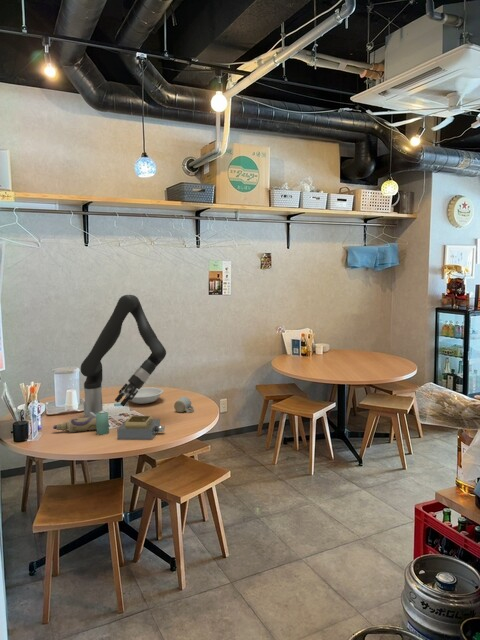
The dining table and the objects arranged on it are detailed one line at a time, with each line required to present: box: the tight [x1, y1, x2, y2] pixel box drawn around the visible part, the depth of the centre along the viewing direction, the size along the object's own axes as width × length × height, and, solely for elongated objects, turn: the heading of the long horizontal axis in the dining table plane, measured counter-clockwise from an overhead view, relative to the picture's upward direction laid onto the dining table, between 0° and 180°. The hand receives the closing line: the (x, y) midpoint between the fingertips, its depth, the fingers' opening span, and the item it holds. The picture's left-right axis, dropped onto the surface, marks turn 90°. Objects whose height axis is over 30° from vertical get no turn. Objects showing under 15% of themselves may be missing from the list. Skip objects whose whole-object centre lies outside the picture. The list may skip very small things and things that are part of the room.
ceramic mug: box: [173, 395, 195, 413], centre depth 268 cm, size 11×8×8 cm
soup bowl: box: [124, 386, 164, 405], centre depth 288 cm, size 24×24×7 cm
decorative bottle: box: [52, 417, 97, 433], centre depth 239 cm, size 26×8×7 cm, turn 103°
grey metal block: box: [116, 415, 166, 440], centre depth 232 cm, size 21×16×8 cm
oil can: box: [90, 410, 110, 436], centre depth 233 cm, size 9×6×12 cm
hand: (118, 403), depth 238 cm, fingers open, 8 cm apart
